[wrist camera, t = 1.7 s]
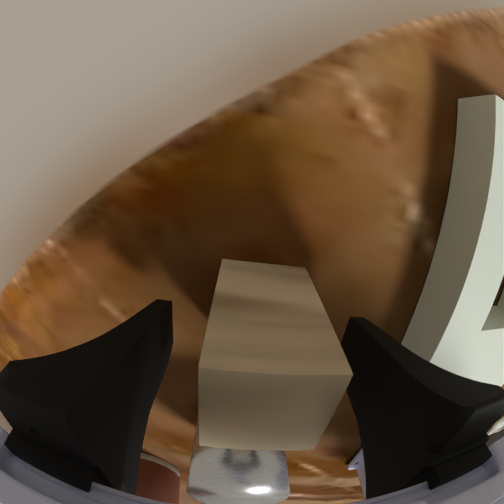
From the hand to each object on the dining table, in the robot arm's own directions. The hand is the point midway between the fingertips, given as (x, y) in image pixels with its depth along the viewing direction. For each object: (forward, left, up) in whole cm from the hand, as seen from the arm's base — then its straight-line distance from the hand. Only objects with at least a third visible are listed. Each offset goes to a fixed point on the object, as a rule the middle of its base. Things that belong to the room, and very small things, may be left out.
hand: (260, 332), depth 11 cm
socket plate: (+3, -15, -3) cm, 16 cm away
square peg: (0, 0, -3) cm, 3 cm away
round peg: (-10, 0, -3) cm, 10 cm away
